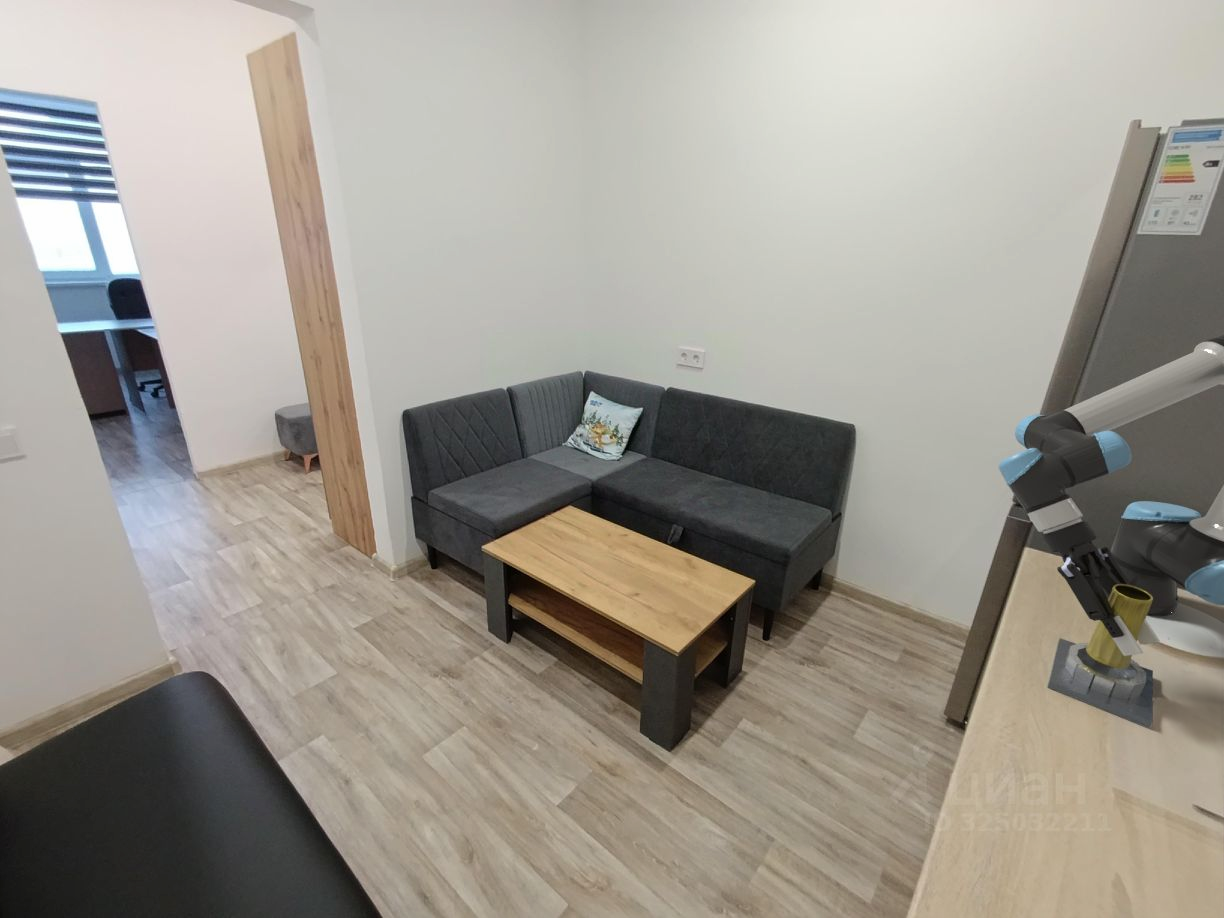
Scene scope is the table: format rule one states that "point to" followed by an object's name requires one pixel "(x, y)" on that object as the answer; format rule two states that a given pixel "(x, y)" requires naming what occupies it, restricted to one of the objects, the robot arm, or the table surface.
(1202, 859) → the table surface
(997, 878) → the table surface
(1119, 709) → the collar stand
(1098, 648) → the vase
